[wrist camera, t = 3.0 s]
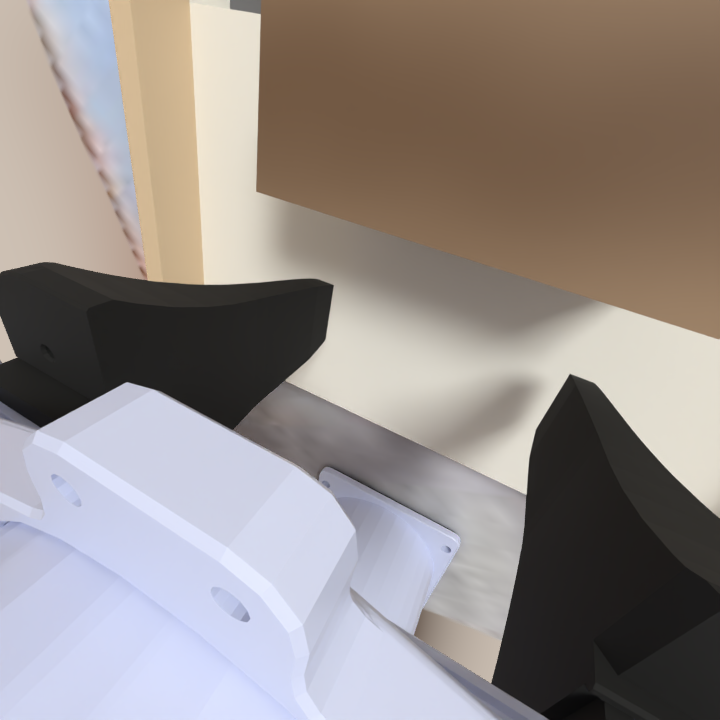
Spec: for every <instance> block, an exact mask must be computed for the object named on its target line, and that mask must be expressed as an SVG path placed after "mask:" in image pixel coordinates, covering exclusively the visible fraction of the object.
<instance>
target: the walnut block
mask: <svg viewBox="0 0 720 720" xmlns="http://www.w3.org/2000/svg"><path fill="white" fill-rule="evenodd" d="M256 192H259V193H262V194H265V195H268V196H271V197H274V198H277V199H281V200H284V201H287V202H290V203H293V204H296V205H299V206H302V207H306V208H309V209H312V210H315V211H318V212H321V213H324V214H327V215H331V216H334V217H337V218H340V219H343V220H346V221H349V222H353V223H356V224H359V225H362V226H365V227H368V228H371V229H374V230H378V231H381V232H384V233H387V234H390V235H393V236H396V237H399V238H403V239H406V240H409V241H412V242H415V243H418V244H421V245H424V246H428V247H431V248H434V249H437V250H440V251H443V252H446V253H449V254H453V255H456V256H459V257H462V258H465V259H468V260H471V261H475V262H478V263H481V264H484V265H487V266H490V267H493V268H496V269H500V270H503V271H506V272H509V273H512V274H515V275H518V276H521V277H525V278H528V279H531V280H534V281H537V282H540V283H543V284H546V285H550V286H553V287H556V288H559V289H562V290H565V291H568V292H571V293H575V294H578V295H581V296H584V297H587V298H590V299H593V300H597V301H600V302H603V303H606V304H609V305H612V306H615V307H618V308H622V309H625V310H628V311H631V312H634V313H637V314H640V315H643V316H647V317H650V318H653V319H656V320H659V321H662V322H665V323H668V324H672V325H675V326H678V327H681V328H684V329H687V330H690V331H693V332H697V333H700V334H703V335H706V336H709V337H712V338H715V339H720V0H261V23H260V61H259V99H258V137H257V176H256Z"/></svg>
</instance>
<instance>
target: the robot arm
mask: <svg viewBox="0 0 720 720" xmlns="http://www.w3.org/2000/svg"><path fill="white" fill-rule="evenodd" d="M333 288H334V285H332V284H330V283H327V282H324V281H322V280H319V279H312V278H307V279H291V280H280V281H270V282H259V283H244V284H227V285H199V284H180V283H168V282H156V281H147V280H139V279H132V278H126V277H120V276H114V275H108V274H103V273H98V272H93V271H88V270H84V269H80V268H75V267H70V266H66V265H61V264H58V263H49V262H43V263H38V264H33V265H29V266H25V267H20V268H17V269H12V270H7V271H3V272H1V273H0V316H1V319H2V321H3V324H4V327H5V329H6V331H7V334H8V336H9V339H10V342H11V344H12V347H13V349H14V352H15V354H16V356H17V357H18V358H15V359H13V360H10V361H8V362H5V363H2V362H1V361H0V720H720V518H719V517H718V516H716V515H715V514H714V513H713V512H712V511H711V510H709V509H708V508H707V507H706V506H705V505H704V504H703V503H702V502H700V501H699V500H698V499H697V498H696V497H695V496H694V495H693V494H692V493H691V492H690V491H689V490H688V489H687V488H686V487H685V486H684V485H683V484H682V483H680V482H679V481H678V480H677V479H676V478H675V477H674V476H673V475H672V474H671V473H670V472H669V471H668V470H667V469H666V468H665V466H664V465H663V464H662V463H661V462H660V461H659V460H658V459H657V458H656V457H655V455H654V454H653V453H652V452H651V451H650V450H649V449H648V448H647V447H646V445H645V444H644V443H643V442H642V441H641V440H640V438H639V437H638V436H637V435H636V434H635V432H634V431H633V430H632V429H631V427H630V426H629V425H628V424H627V422H626V421H625V420H624V419H623V417H622V416H621V415H620V413H619V412H618V411H617V410H616V408H615V407H614V406H613V404H612V403H611V402H610V400H609V399H608V398H607V397H606V395H605V394H604V393H603V392H602V391H601V389H600V388H599V387H598V386H597V385H596V384H595V383H593V382H591V381H588V380H585V379H583V378H580V377H577V376H575V375H572V374H570V375H569V376H568V378H567V379H566V381H565V383H564V384H563V386H562V388H561V389H560V391H559V392H558V394H557V396H556V397H555V399H554V401H553V402H552V404H551V406H550V407H549V409H548V410H547V412H546V414H545V415H544V417H543V419H542V420H541V422H540V424H539V425H538V427H537V428H536V431H535V435H534V440H533V444H532V448H531V452H530V457H529V467H528V481H527V496H526V511H525V527H524V536H523V544H522V549H521V554H520V559H519V565H518V570H517V575H516V580H515V585H514V589H513V594H512V599H511V603H510V608H509V613H508V617H507V621H506V626H505V630H504V634H503V638H502V643H501V647H500V651H499V655H498V660H497V664H496V667H495V671H494V675H493V679H492V683H489V682H488V681H486V680H485V679H483V678H481V677H480V676H478V675H476V674H475V673H473V672H472V671H470V670H468V669H467V668H465V667H464V666H462V665H460V664H459V663H457V662H456V661H454V660H452V659H451V658H449V657H448V656H446V655H444V654H443V653H441V652H439V651H438V650H436V649H435V648H433V647H431V646H430V645H428V644H427V643H425V642H423V641H422V640H420V639H418V638H417V637H415V636H414V633H415V629H416V626H417V623H418V620H419V617H420V613H421V610H422V609H423V607H424V605H425V604H426V602H427V600H428V599H429V597H430V595H431V594H432V592H433V590H434V589H435V587H436V585H437V584H438V582H439V580H440V579H441V577H442V575H443V574H444V572H445V570H446V569H447V567H448V565H449V564H450V562H451V560H452V559H453V557H454V555H455V554H456V552H457V550H458V549H459V546H460V542H461V540H460V537H459V536H458V535H457V534H456V533H454V532H452V531H450V530H448V529H447V528H445V527H443V526H441V525H439V524H437V523H435V522H433V521H431V520H429V519H428V518H426V517H424V516H422V515H420V514H418V513H416V512H414V511H412V510H410V509H409V508H407V507H405V506H403V505H401V504H399V503H397V502H395V501H393V500H391V499H390V498H388V497H386V496H384V495H382V494H380V493H378V492H376V491H374V490H372V489H371V488H369V487H367V486H365V485H363V484H361V483H359V482H357V481H355V480H353V479H352V478H350V477H348V476H346V475H344V474H342V473H340V472H338V471H336V470H334V469H333V468H330V467H325V468H323V469H322V471H321V472H320V475H319V481H318V480H317V479H315V478H314V477H313V476H311V475H310V474H309V473H308V472H306V471H305V470H304V469H302V468H301V467H300V466H298V465H296V464H294V463H292V462H291V461H289V460H287V459H285V458H283V457H281V456H279V455H278V454H276V453H274V452H272V451H270V450H268V449H266V448H265V447H263V446H261V445H259V444H257V443H255V442H253V441H252V440H250V439H248V438H246V437H244V436H242V435H240V434H239V433H237V432H235V431H233V429H234V428H235V427H236V426H237V425H238V424H239V423H240V422H241V420H242V419H243V418H244V417H245V416H246V415H247V414H248V413H249V412H250V411H251V410H252V409H253V408H254V407H255V406H256V405H257V404H258V403H259V402H260V401H261V400H262V399H263V398H264V397H266V396H267V395H268V394H269V393H270V392H272V391H273V390H274V389H275V388H276V387H277V386H279V385H280V384H281V383H282V382H283V381H285V380H286V379H287V378H288V377H289V376H291V375H292V374H293V373H294V372H295V371H296V370H298V369H299V368H300V367H301V366H302V365H303V364H305V363H306V362H307V361H308V360H309V359H310V358H311V357H312V356H313V354H314V353H315V352H316V351H317V350H318V349H319V347H320V346H321V345H322V344H323V342H324V341H325V340H326V334H327V327H328V320H329V314H330V307H331V301H332V294H333Z"/></svg>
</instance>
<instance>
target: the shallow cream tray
mask: <svg viewBox="0 0 720 720" xmlns="http://www.w3.org/2000/svg"><path fill="white" fill-rule="evenodd" d="M109 6H110V13H111V20H112V27H113V34H114V42H115V49H116V56H117V63H118V70H119V77H120V84H121V92H122V99H123V106H124V113H125V120H126V127H127V135H128V142H129V149H130V156H131V163H132V170H133V177H134V185H135V192H136V199H137V206H138V213H139V220H140V227H141V235H142V242H143V249H144V256H145V263H146V270H147V278H148V281H156V282H168V283H180V284H199V285H227V284H244V283H259V282H270V281H280V280H291V279H307V278H312V279H319V280H322V281H324V282H327V283H330V284H332V285H334V288H333V294H332V301H331V307H330V314H329V320H328V327H327V334H326V340H325V341H324V342H323V344H322V345H321V346H320V347H319V349H318V350H317V351H316V352H315V353H314V354H313V356H312V357H311V358H310V359H309V360H308V361H307V362H306V363H305V364H303V365H302V366H301V367H300V368H299V369H298V370H296V371H295V372H294V373H293V374H292V375H291V376H289V377H288V378H287V379H286V380H285V381H287V382H289V383H291V384H293V385H295V386H297V387H299V388H301V389H303V390H306V391H308V392H310V393H312V394H314V395H316V396H318V397H320V398H322V399H325V400H327V401H329V402H331V403H333V404H335V405H337V406H339V407H342V408H344V409H346V410H348V411H350V412H352V413H354V414H356V415H358V416H361V417H363V418H365V419H367V420H369V421H371V422H373V423H375V424H377V425H380V426H382V427H384V428H386V429H388V430H390V431H392V432H394V433H397V434H399V435H401V436H403V437H405V438H407V439H409V440H411V441H413V442H416V443H418V444H420V445H422V446H424V447H426V448H428V449H430V450H432V451H435V452H437V453H439V454H441V455H443V456H445V457H447V458H449V459H451V460H454V461H456V462H458V463H460V464H462V465H464V466H466V467H468V468H471V469H473V470H475V471H477V472H479V473H481V474H483V475H485V476H487V477H490V478H492V479H494V480H496V481H498V482H500V483H502V484H504V485H506V486H509V487H511V488H513V489H515V490H517V491H519V492H521V493H523V494H526V495H527V481H528V467H529V457H530V452H531V448H532V444H533V440H534V435H535V431H536V428H537V427H538V425H539V424H540V422H541V420H542V419H543V417H544V415H545V414H546V412H547V410H548V409H549V407H550V406H551V404H552V402H553V401H554V399H555V397H556V396H557V394H558V392H559V391H560V389H561V388H562V386H563V384H564V383H565V381H566V379H567V378H568V376H569V375H570V374H572V375H575V376H577V377H580V378H583V379H585V380H588V381H591V382H593V383H595V384H596V385H597V386H598V387H599V388H600V389H601V391H602V392H603V393H604V394H605V395H606V397H607V398H608V399H609V400H610V402H611V403H612V404H613V406H614V407H615V408H616V410H617V411H618V412H619V413H620V415H621V416H622V417H623V419H624V420H625V421H626V422H627V424H628V425H629V426H630V427H631V429H632V430H633V431H634V432H635V434H636V435H637V436H638V437H639V438H640V440H641V441H642V442H643V443H644V444H645V445H646V447H647V448H648V449H649V450H650V451H651V452H652V453H653V454H654V455H655V457H656V458H657V459H658V460H659V461H660V462H661V463H662V464H663V465H664V466H665V468H666V469H667V470H668V471H669V472H670V473H671V474H672V475H673V476H674V477H675V478H676V479H677V480H678V481H679V482H680V483H682V484H683V485H684V486H685V487H686V488H687V489H688V490H689V491H690V492H691V493H692V494H693V495H694V496H695V497H696V498H697V499H698V500H699V501H700V502H702V503H703V504H704V505H705V506H706V507H707V508H708V509H709V510H711V511H712V512H713V513H714V514H715V515H716V516H718V517H719V518H720V339H715V338H712V337H709V336H706V335H703V334H700V333H697V332H693V331H690V330H687V329H684V328H681V327H678V326H675V325H672V324H668V323H665V322H662V321H659V320H656V319H653V318H650V317H647V316H643V315H640V314H637V313H634V312H631V311H628V310H625V309H622V308H618V307H615V306H612V305H609V304H606V303H603V302H600V301H597V300H593V299H590V298H587V297H584V296H581V295H578V294H575V293H571V292H568V291H565V290H562V289H559V288H556V287H553V286H550V285H546V284H543V283H540V282H537V281H534V280H531V279H528V278H525V277H521V276H518V275H515V274H512V273H509V272H506V271H503V270H500V269H496V268H493V267H490V266H487V265H484V264H481V263H478V262H475V261H471V260H468V259H465V258H462V257H459V256H456V255H453V254H449V253H446V252H443V251H440V250H437V249H434V248H431V247H428V246H424V245H421V244H418V243H415V242H412V241H409V240H406V239H403V238H399V237H396V236H393V235H390V234H387V233H384V232H381V231H378V230H374V229H371V228H368V227H365V226H362V225H359V224H356V223H353V222H349V221H346V220H343V219H340V218H337V217H334V216H331V215H327V214H324V213H321V212H318V211H315V210H312V209H309V208H306V207H302V206H299V205H296V204H293V203H290V202H287V201H284V200H281V199H277V198H274V197H271V196H268V195H265V194H262V193H259V192H256V176H257V137H258V99H259V61H260V23H261V0H109Z"/></svg>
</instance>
